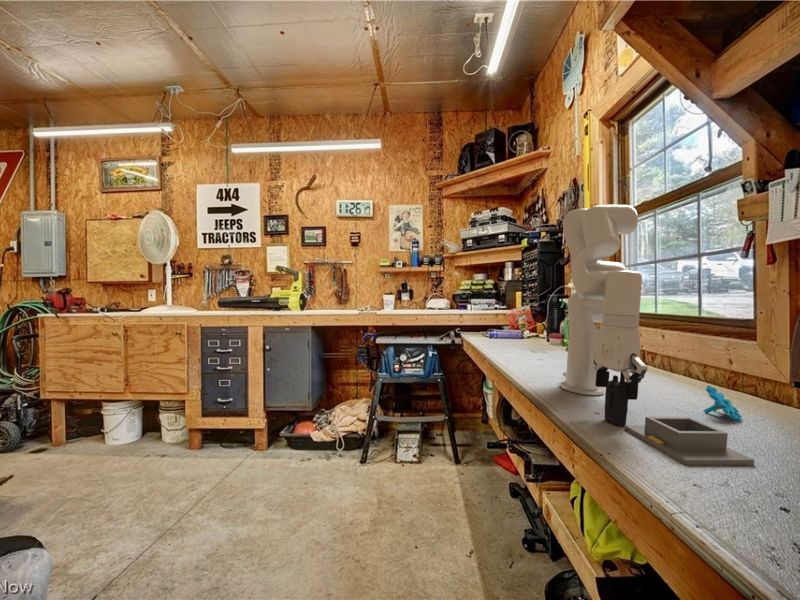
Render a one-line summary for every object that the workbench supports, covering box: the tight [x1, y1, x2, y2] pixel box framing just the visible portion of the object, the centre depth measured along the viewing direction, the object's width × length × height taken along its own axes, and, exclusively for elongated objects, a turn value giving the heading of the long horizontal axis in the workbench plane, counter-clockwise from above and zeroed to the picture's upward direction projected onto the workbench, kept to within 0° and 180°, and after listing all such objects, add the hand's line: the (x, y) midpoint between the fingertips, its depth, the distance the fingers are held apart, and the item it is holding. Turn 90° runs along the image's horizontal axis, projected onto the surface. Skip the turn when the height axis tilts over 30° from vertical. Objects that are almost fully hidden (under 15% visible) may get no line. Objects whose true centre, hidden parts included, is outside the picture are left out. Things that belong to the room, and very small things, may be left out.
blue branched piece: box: [703, 385, 743, 422], centre depth 95 cm, size 11×6×10 cm
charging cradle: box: [624, 416, 755, 466], centre depth 74 cm, size 16×14×4 cm
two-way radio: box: [604, 371, 629, 427], centre depth 85 cm, size 6×4×15 cm
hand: (615, 392), depth 85 cm, fingers open, 9 cm apart
